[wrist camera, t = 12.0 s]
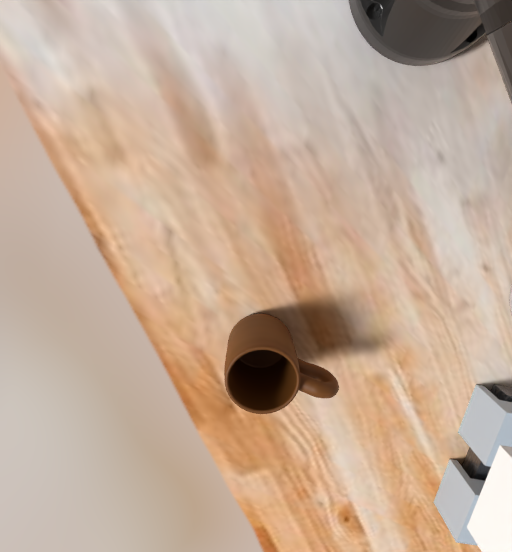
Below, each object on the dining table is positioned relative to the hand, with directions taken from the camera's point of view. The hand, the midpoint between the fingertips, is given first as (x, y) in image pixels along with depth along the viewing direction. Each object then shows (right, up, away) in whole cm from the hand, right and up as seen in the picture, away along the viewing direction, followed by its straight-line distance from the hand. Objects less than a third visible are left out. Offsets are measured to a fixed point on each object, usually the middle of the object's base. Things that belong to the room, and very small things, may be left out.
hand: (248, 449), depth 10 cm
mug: (+3, -4, +37) cm, 37 cm away
